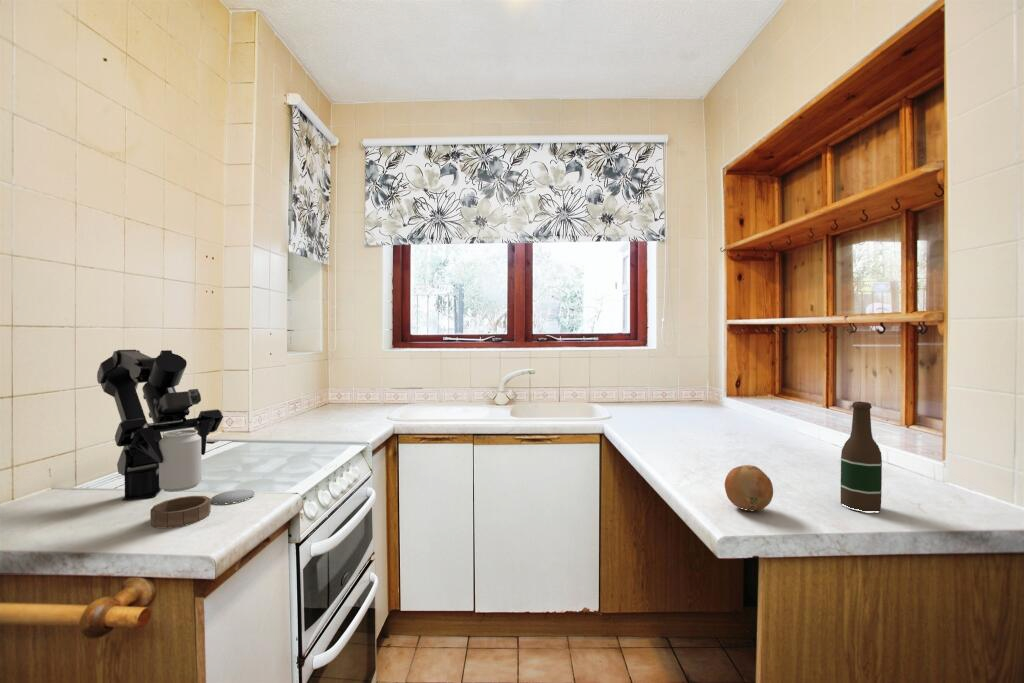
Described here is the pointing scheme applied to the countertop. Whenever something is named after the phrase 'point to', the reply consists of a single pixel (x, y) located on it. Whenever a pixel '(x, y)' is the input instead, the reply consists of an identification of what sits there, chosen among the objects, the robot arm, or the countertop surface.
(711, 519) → the countertop surface
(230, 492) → the mat
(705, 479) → the countertop surface
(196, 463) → the can
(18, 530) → the countertop surface
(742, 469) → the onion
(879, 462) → the beer bottle
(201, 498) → the collar
